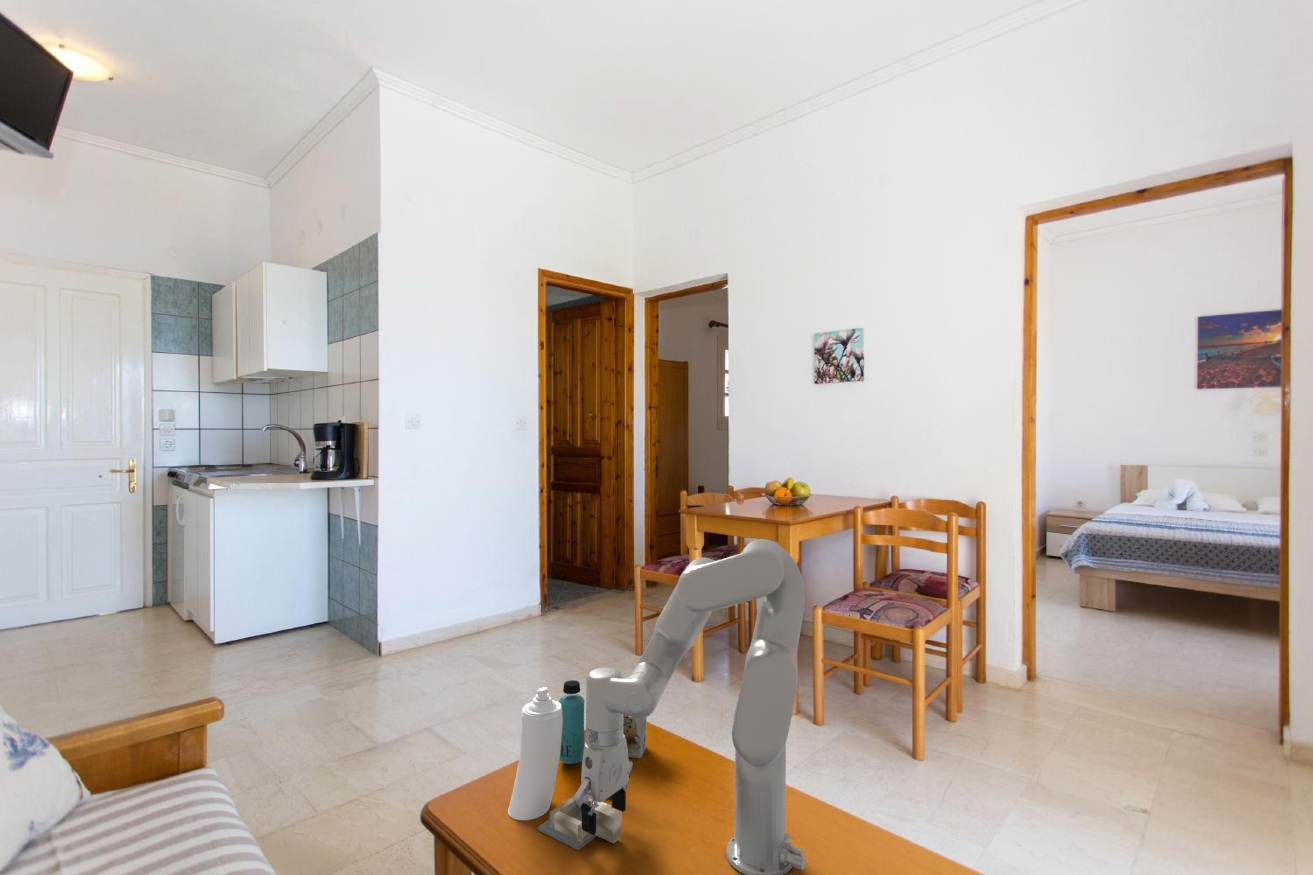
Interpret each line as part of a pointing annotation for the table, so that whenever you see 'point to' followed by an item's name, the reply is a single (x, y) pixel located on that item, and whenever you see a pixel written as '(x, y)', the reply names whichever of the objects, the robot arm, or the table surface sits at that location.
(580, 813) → the mat
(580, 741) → the beverage bottle
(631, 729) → the coffee box
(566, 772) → the table surface
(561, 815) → the cream square frame
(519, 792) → the spray can
